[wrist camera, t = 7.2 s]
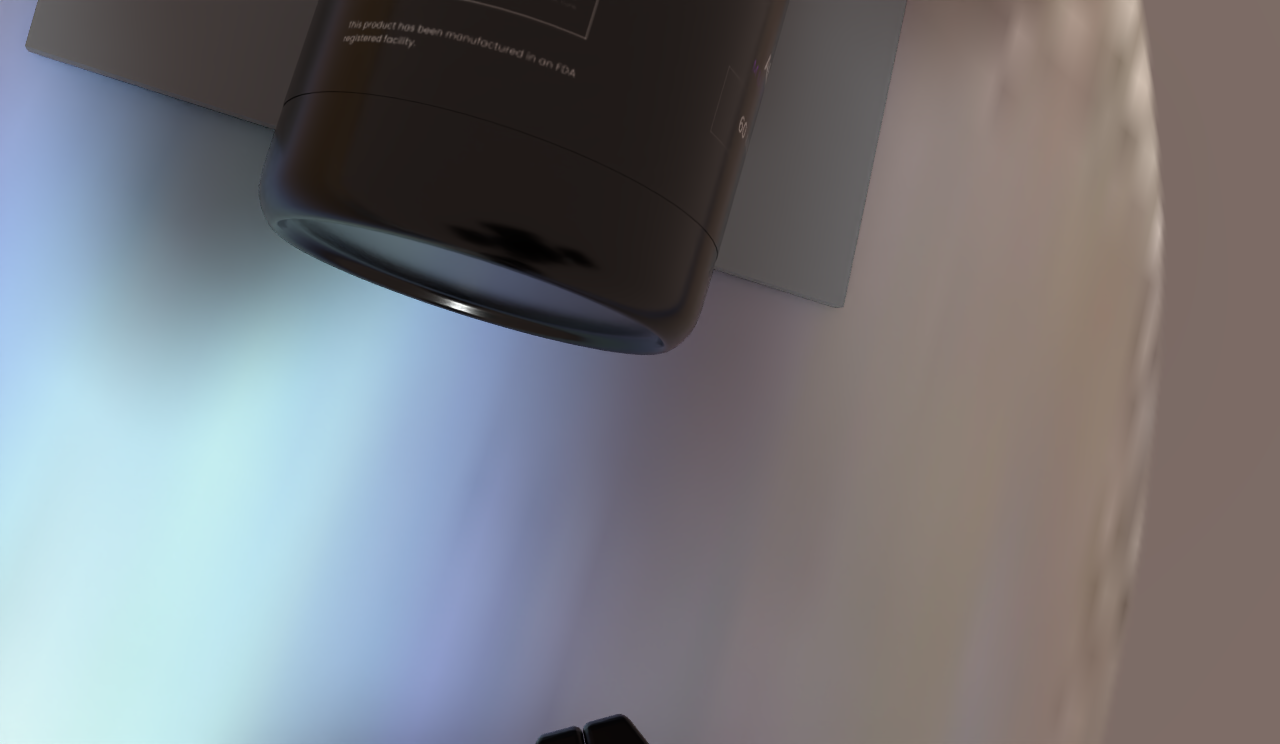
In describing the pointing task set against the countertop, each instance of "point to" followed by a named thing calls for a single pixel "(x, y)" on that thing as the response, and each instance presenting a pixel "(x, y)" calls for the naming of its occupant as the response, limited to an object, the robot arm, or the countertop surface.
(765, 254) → the metal sheet
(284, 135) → the supplement bottle
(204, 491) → the countertop surface
